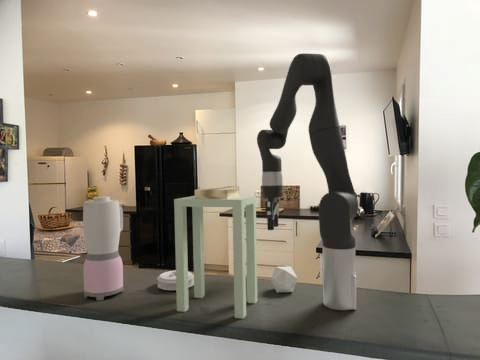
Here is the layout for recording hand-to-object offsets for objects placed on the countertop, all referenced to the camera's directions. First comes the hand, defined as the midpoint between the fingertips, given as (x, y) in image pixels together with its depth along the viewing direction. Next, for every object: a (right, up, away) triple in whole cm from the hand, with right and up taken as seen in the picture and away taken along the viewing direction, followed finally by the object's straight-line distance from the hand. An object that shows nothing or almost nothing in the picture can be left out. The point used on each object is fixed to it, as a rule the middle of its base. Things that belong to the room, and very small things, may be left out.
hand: (273, 228), depth 135 cm
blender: (-56, -20, -13) cm, 61 cm away
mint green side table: (-19, -19, -27) cm, 38 cm away
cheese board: (-17, +13, -22) cm, 31 cm away
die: (+2, -19, -15) cm, 24 cm away
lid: (-34, -20, -8) cm, 40 cm away
